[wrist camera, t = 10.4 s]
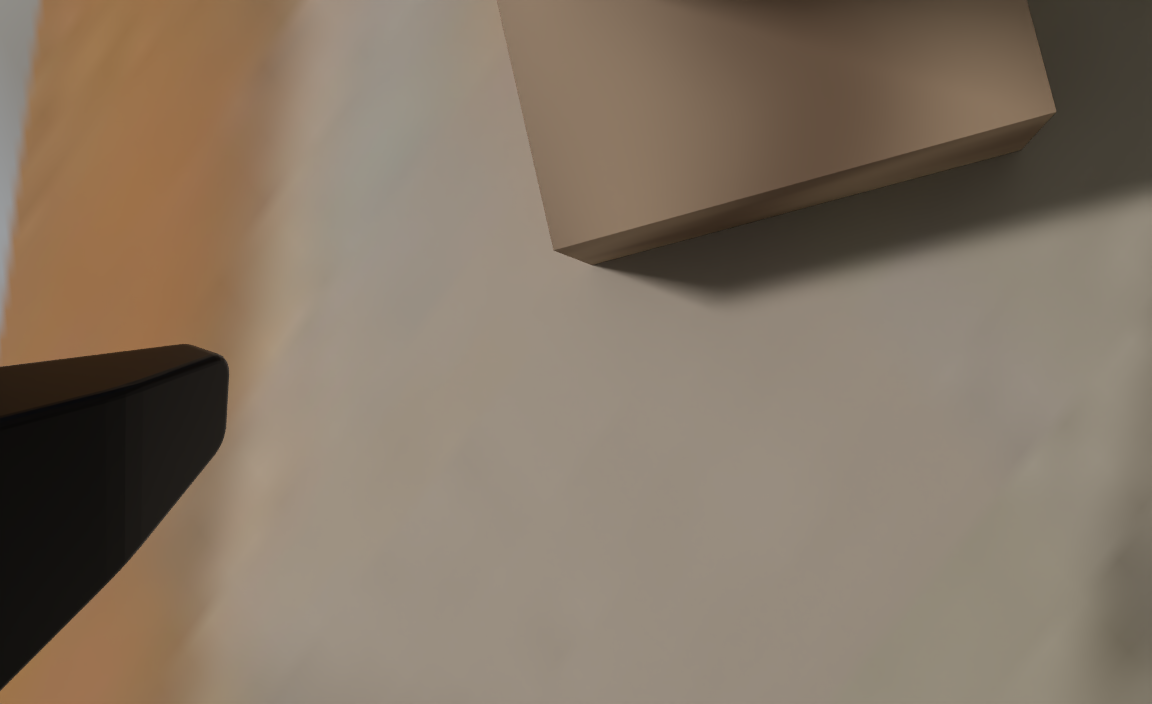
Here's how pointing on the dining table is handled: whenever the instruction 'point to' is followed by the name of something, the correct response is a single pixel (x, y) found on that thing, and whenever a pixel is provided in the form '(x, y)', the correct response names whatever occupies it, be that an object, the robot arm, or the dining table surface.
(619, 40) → the stack block
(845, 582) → the dining table surface
